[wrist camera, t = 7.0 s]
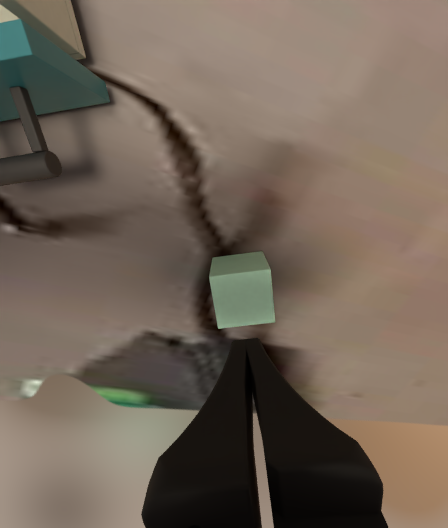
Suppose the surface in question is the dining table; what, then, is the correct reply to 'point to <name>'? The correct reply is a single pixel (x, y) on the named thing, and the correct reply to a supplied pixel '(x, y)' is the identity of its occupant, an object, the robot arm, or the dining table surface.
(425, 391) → the dining table surface
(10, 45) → the drawer
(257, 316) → the sage green cube
